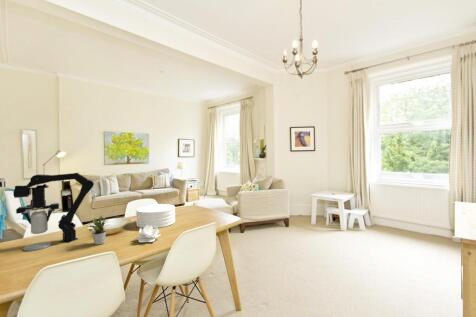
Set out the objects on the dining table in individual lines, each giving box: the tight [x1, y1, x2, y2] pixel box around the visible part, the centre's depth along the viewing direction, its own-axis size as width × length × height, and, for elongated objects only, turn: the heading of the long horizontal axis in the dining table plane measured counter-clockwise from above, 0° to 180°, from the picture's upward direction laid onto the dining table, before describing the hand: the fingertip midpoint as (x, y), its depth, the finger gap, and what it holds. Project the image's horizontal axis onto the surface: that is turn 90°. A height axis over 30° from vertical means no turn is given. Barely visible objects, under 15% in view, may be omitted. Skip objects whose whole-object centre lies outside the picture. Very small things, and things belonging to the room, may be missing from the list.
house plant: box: [85, 215, 110, 245], centre depth 140 cm, size 14×14×16 cm
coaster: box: [23, 241, 52, 252], centre depth 134 cm, size 12×12×1 cm
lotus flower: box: [134, 225, 162, 243], centre depth 144 cm, size 14×15×9 cm
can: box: [30, 210, 49, 235], centre depth 137 cm, size 8×8×12 cm
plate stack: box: [135, 203, 176, 229], centre depth 181 cm, size 28×28×12 cm
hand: (39, 222), depth 137 cm, fingers closed on can, 7 cm apart
